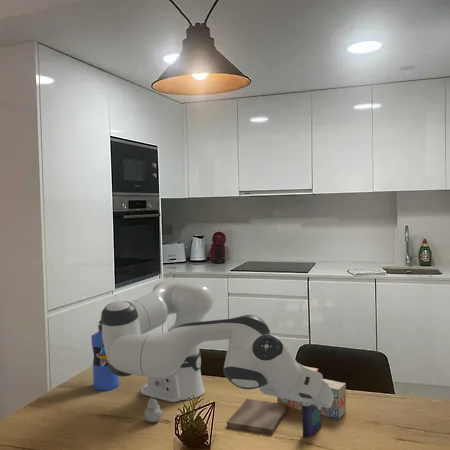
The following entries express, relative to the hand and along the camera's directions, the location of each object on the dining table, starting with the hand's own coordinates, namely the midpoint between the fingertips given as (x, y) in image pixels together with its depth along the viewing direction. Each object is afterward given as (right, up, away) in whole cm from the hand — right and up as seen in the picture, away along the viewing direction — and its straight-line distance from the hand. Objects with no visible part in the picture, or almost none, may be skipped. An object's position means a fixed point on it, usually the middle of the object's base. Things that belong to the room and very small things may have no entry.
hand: (302, 403), depth 133 cm
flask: (+4, -11, +7) cm, 14 cm away
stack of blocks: (+6, -10, +23) cm, 26 cm away
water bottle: (-65, -11, +46) cm, 80 cm away
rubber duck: (-43, -12, +17) cm, 48 cm away
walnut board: (-11, -11, +17) cm, 22 cm away
